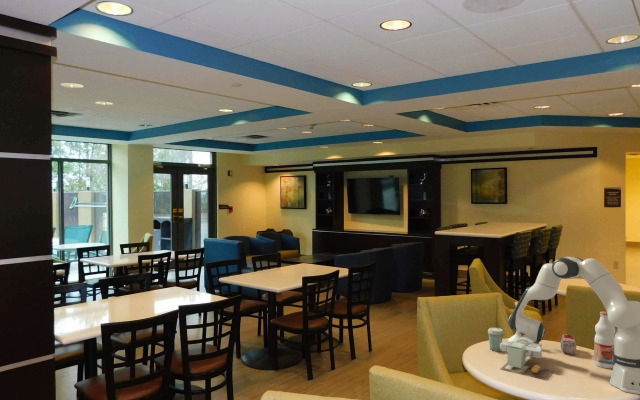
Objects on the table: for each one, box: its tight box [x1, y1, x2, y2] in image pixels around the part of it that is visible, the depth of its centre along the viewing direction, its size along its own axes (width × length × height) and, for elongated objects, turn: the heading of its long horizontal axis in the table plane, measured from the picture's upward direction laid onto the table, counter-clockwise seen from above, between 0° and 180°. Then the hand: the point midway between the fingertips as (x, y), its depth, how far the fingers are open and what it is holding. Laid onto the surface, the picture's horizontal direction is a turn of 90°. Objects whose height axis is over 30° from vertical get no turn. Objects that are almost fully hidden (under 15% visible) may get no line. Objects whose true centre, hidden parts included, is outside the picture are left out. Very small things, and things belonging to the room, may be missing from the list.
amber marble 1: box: [531, 367, 538, 373], centre depth 227 cm, size 3×3×3 cm
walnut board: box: [499, 361, 555, 382], centre depth 231 cm, size 22×16×1 cm
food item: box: [560, 333, 577, 356], centre depth 262 cm, size 14×8×10 cm, turn 156°
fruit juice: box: [593, 310, 616, 369], centre depth 241 cm, size 9×9×28 cm
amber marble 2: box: [533, 364, 541, 371], centre depth 230 cm, size 3×3×3 cm
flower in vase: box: [507, 301, 526, 342], centre depth 274 cm, size 13×11×25 cm
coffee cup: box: [487, 327, 505, 353], centre depth 263 cm, size 8×9×12 cm
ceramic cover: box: [507, 342, 527, 368], centre depth 234 cm, size 6×8×10 cm
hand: (516, 353), depth 234 cm, fingers closed on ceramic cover, 6 cm apart
